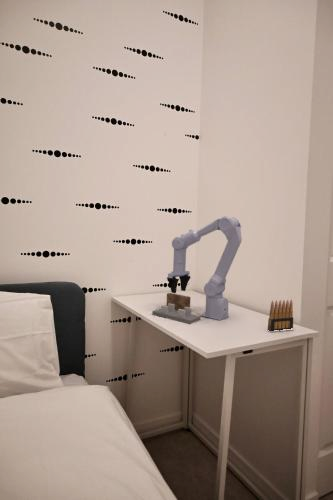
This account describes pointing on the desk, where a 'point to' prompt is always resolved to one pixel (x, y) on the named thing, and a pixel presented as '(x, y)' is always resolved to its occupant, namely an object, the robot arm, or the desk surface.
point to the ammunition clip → (280, 316)
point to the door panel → (178, 301)
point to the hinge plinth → (177, 314)
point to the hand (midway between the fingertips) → (178, 291)
